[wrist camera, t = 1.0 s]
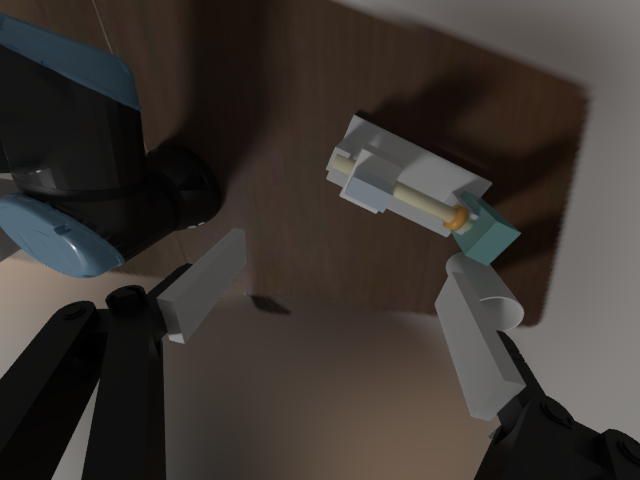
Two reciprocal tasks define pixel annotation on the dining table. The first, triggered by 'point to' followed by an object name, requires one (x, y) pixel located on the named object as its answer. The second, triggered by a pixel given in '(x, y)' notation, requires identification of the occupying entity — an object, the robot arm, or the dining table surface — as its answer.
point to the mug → (489, 291)
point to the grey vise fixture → (430, 191)
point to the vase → (3, 245)
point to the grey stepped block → (372, 179)
